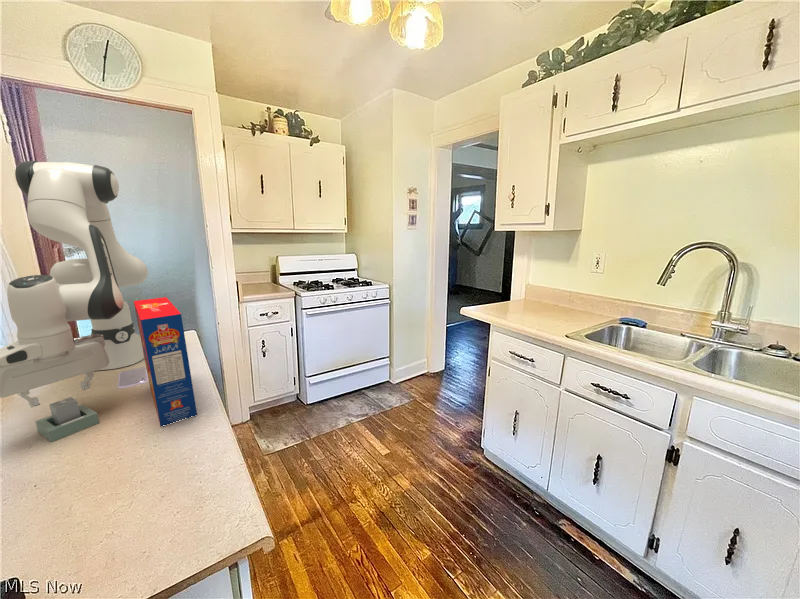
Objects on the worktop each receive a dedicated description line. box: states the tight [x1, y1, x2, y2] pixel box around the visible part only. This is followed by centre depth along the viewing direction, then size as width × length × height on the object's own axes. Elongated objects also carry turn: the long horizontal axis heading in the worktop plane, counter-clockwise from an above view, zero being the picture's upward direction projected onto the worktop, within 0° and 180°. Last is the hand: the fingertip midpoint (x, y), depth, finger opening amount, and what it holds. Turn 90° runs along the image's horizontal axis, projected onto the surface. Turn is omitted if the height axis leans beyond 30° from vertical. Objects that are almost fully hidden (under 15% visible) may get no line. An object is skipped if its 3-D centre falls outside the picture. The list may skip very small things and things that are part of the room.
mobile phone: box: [117, 366, 149, 389], centre depth 112 cm, size 8×1×15 cm
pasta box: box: [133, 296, 198, 427], centre depth 94 cm, size 28×8×28 cm, turn 41°
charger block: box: [49, 396, 81, 426], centre depth 84 cm, size 4×4×6 cm
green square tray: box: [35, 404, 100, 443], centre depth 84 cm, size 9×9×3 cm
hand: (61, 396), depth 83 cm, fingers open, 8 cm apart
